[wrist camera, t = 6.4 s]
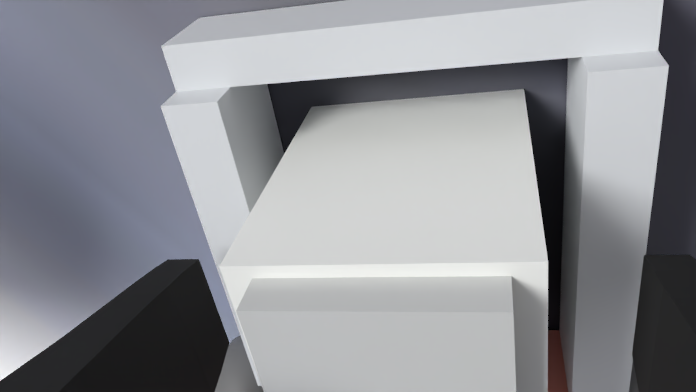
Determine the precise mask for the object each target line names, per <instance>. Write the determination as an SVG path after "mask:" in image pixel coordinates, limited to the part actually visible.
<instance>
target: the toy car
mask: <svg viewBox="0 0 696 392" xmlns="http://www.w3.org/2000/svg"><path fill="white" fill-rule="evenodd" d="M663 1H664V0H346V1H337V2H329V3H320V4H312V5H303V6H295V7H286V8H278V9H270V10H261V11H253V12H244V13H236V14H227V15H219V16H210V17H202V18H199V19H197V20H196V21H195V22H193V23H192V24H191V25H189V26H188V27H186V28H185V29H184V30H182V31H181V32H180V33H178V34H177V35H176V36H174V37H173V38H172V39H170V40H169V41H168V42H166V43H165V44H164V45H162V46H161V47H162V50H163V53H164V56H165V59H166V62H167V65H168V68H169V71H170V74H171V77H172V80H173V83H174V86H175V89H176V92H175V93H174V94H173V95H172V96H171V97H170V98H169V99H168V100H167V101H166V102H165V103H164V104H162V105H161V109H162V112H163V115H164V117H165V120H166V123H167V126H168V129H169V132H170V135H171V138H172V140H173V143H174V146H175V149H176V152H177V155H178V158H179V161H180V163H181V166H182V169H183V172H184V175H185V178H186V181H187V184H188V186H189V189H190V192H191V195H192V198H193V201H194V204H195V207H196V209H197V212H198V215H199V218H200V221H201V224H202V227H203V229H204V232H205V235H206V238H207V241H208V244H209V247H210V250H211V252H212V255H213V258H214V261H215V264H216V267H217V270H218V273H219V275H220V278H221V281H222V284H223V287H224V290H225V293H226V296H227V298H228V301H229V304H230V307H231V310H232V313H233V316H234V319H235V321H236V324H237V327H238V330H239V333H240V336H238V337H236V338H235V339H234V340H233V341H232V342H231V343H230V344H229V346H228V349H227V353H226V356H225V360H224V363H223V367H222V371H221V374H220V377H219V380H218V383H217V386H216V389H215V392H264V391H263V388H262V385H261V383H260V380H259V377H258V374H257V371H256V369H255V366H254V363H253V360H252V357H251V355H250V352H249V349H248V346H247V343H246V341H245V338H244V335H243V332H242V329H241V326H240V324H239V321H238V318H237V315H236V312H235V310H234V307H233V304H232V301H231V298H230V296H229V293H228V290H227V287H226V284H225V281H224V279H223V276H222V273H221V270H220V267H219V266H220V264H221V262H222V261H223V259H224V257H225V256H226V254H227V252H228V250H229V249H230V247H231V245H232V243H233V242H234V240H235V238H236V237H237V235H238V233H239V231H240V230H241V228H242V226H243V224H244V223H245V221H246V219H247V217H248V216H249V214H250V212H251V211H252V209H253V207H254V205H255V204H256V202H257V200H258V198H259V197H260V195H261V193H262V192H263V190H264V188H265V186H266V185H267V183H268V181H269V179H270V178H271V176H272V174H273V173H274V171H275V169H276V167H277V166H278V164H279V162H280V160H281V159H282V157H283V155H284V151H283V147H282V143H281V139H280V134H279V130H278V126H277V122H276V118H275V114H274V110H273V106H272V102H271V98H270V93H269V89H268V85H267V84H272V83H284V82H296V81H307V80H319V79H331V78H342V77H354V76H366V75H377V74H389V73H401V72H412V71H424V70H436V69H447V68H459V67H471V66H482V65H494V64H506V63H517V62H529V61H541V60H552V59H564V58H568V71H567V102H566V134H565V166H564V198H563V230H562V262H561V294H560V326H559V330H548V392H639V390H638V384H637V379H636V373H635V368H634V362H633V357H632V350H633V342H634V333H635V325H636V317H637V308H638V300H639V292H640V284H641V275H642V267H643V259H644V255H646V249H647V241H648V232H649V224H650V216H651V208H652V200H653V192H654V184H655V175H656V167H657V159H658V151H659V143H660V135H661V126H662V118H663V110H664V102H665V94H666V86H667V78H668V69H669V65H668V64H667V62H666V61H665V60H664V58H663V57H662V55H661V54H660V53H659V51H658V46H659V37H660V28H661V19H662V10H663Z"/></svg>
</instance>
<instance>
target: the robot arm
mask: <svg viewBox="0 0 696 392" xmlns="http://www.w3.org/2000/svg"><path fill="white" fill-rule="evenodd" d="M228 346H229V341H228V338H227V335H226V333H225V330H224V327H223V324H222V322H221V319H220V316H219V313H218V311H217V308H216V305H215V302H214V300H213V297H212V294H211V291H210V289H209V286H208V283H207V280H206V278H205V275H204V272H203V269H202V267H201V264H200V261H199V259H182V260H167V261H165V262H164V263H162V264H161V265H159V266H157V267H156V268H155V269H153V270H152V271H150V272H149V273H147V274H146V275H145V276H143V277H142V278H140V279H139V280H138V281H136V282H135V283H134V284H132V285H131V286H130V287H128V288H127V289H126V290H124V291H123V292H122V293H120V294H119V295H118V296H116V297H115V298H114V299H113V300H111V301H110V302H109V303H107V304H106V305H105V306H103V307H102V308H101V309H99V310H98V311H97V312H95V313H94V314H93V315H91V316H90V317H89V318H87V319H86V320H85V321H83V322H82V323H81V324H79V325H78V326H77V327H75V328H74V329H73V330H71V331H70V332H69V333H67V334H66V335H65V336H63V337H62V338H61V339H59V340H58V341H56V342H55V343H54V344H52V345H51V346H49V347H48V348H47V349H45V350H44V351H42V352H41V353H39V354H38V355H37V356H35V357H34V358H32V359H31V360H30V361H28V362H27V363H25V364H24V365H22V366H21V367H20V368H18V369H17V370H15V371H14V372H13V373H11V374H10V375H8V376H7V377H5V378H4V379H3V380H1V381H0V392H215V389H216V386H217V383H218V380H219V377H220V374H221V371H222V367H223V363H224V360H225V356H226V353H227V349H228ZM632 357H633V362H634V368H635V373H636V379H637V384H638V390H639V392H696V260H695V259H694V258H693V257H692V256H691V255H644V259H643V267H642V275H641V284H640V292H639V300H638V308H637V317H636V325H635V333H634V342H633V350H632Z"/></svg>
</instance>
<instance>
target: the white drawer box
mask: <svg viewBox="0 0 696 392" xmlns="http://www.w3.org/2000/svg"><path fill="white" fill-rule="evenodd" d="M219 267H220V270H221V273H222V276H223V279H224V281H225V284H226V287H227V290H228V293H229V296H230V298H231V301H232V304H233V307H234V310H235V312H236V315H237V318H238V321H239V324H240V326H241V329H242V332H243V335H244V338H245V341H246V343H247V346H248V349H249V352H250V355H251V357H252V360H253V363H254V366H255V369H256V371H257V374H258V377H259V380H260V383H261V385H262V388H263V391H264V392H548V257H547V250H546V243H545V236H544V229H543V221H542V214H541V207H540V200H539V193H538V186H537V179H536V172H535V164H534V157H533V150H532V143H531V136H530V129H529V122H528V115H527V107H526V100H525V93H524V89H518V90H506V91H494V92H482V93H470V94H458V95H446V96H435V97H423V98H411V99H399V100H387V101H375V102H363V103H351V104H339V105H327V106H315V107H311V109H310V110H309V112H308V114H307V116H306V117H305V119H304V121H303V122H302V124H301V126H300V128H299V129H298V131H297V133H296V135H295V136H294V138H293V140H292V141H291V143H290V145H289V147H288V148H287V150H286V152H285V154H284V155H283V157H282V159H281V160H280V162H279V164H278V166H277V167H276V169H275V171H274V173H273V174H272V176H271V178H270V179H269V181H268V183H267V185H266V186H265V188H264V190H263V192H262V193H261V195H260V197H259V198H258V200H257V202H256V204H255V205H254V207H253V209H252V211H251V212H250V214H249V216H248V217H247V219H246V221H245V223H244V224H243V226H242V228H241V230H240V231H239V233H238V235H237V237H236V238H235V240H234V242H233V243H232V245H231V247H230V249H229V250H228V252H227V254H226V256H225V257H224V259H223V261H222V262H221V264H220V266H219Z"/></svg>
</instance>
